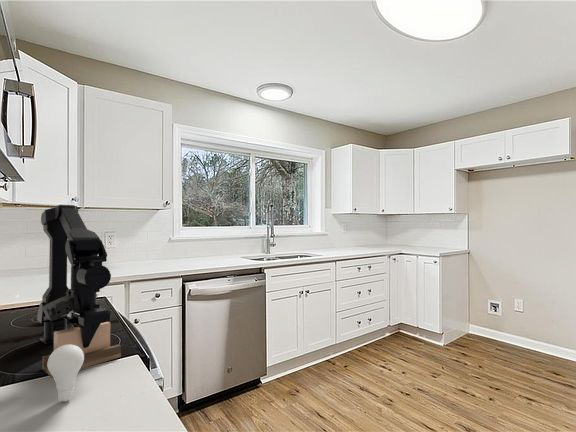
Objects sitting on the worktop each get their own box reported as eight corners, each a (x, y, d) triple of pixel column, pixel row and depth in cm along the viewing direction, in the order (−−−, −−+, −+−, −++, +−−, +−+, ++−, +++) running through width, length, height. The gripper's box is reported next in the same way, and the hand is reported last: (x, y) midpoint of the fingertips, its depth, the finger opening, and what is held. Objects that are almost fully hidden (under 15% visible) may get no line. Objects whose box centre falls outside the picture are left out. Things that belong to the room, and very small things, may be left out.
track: (41, 368, 82) (42, 356, 82) (108, 350, 94) (108, 339, 94) (52, 377, 77) (52, 364, 77) (120, 356, 89) (121, 345, 89)
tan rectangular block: (53, 360, 82) (53, 331, 82) (105, 346, 91) (105, 320, 91) (57, 363, 80) (58, 334, 80) (110, 349, 89) (110, 322, 89)
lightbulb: (89, 393, 70) (90, 339, 70) (71, 409, 64) (72, 350, 64) (59, 393, 70) (60, 340, 70) (39, 409, 64) (39, 351, 64)
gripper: (34, 285, 86) (33, 346, 85) (60, 294, 74) (59, 366, 73) (82, 279, 94) (82, 335, 94) (112, 287, 82) (112, 351, 82)
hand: (83, 346), depth 86 cm, fingers closed on tan rectangular block, 3 cm apart
